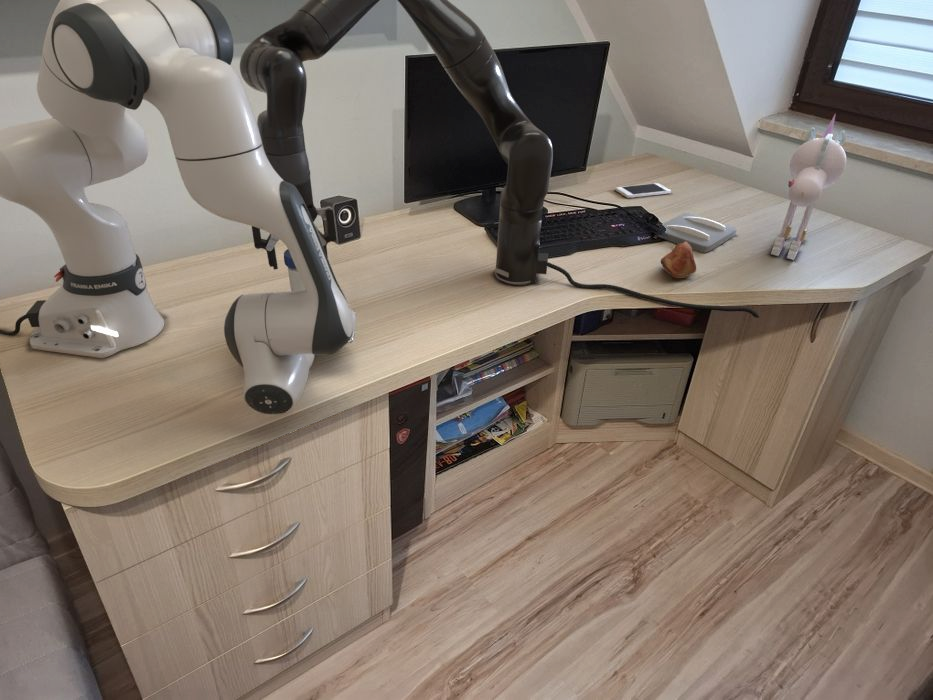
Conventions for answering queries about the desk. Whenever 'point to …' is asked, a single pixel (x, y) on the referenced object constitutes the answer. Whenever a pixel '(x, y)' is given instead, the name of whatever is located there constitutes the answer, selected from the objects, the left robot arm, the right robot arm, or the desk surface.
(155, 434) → the desk surface
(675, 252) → the fossil
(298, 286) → the jar
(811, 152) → the toy
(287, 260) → the lid
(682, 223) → the light switch
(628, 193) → the smartphone
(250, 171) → the left robot arm
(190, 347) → the desk surface
